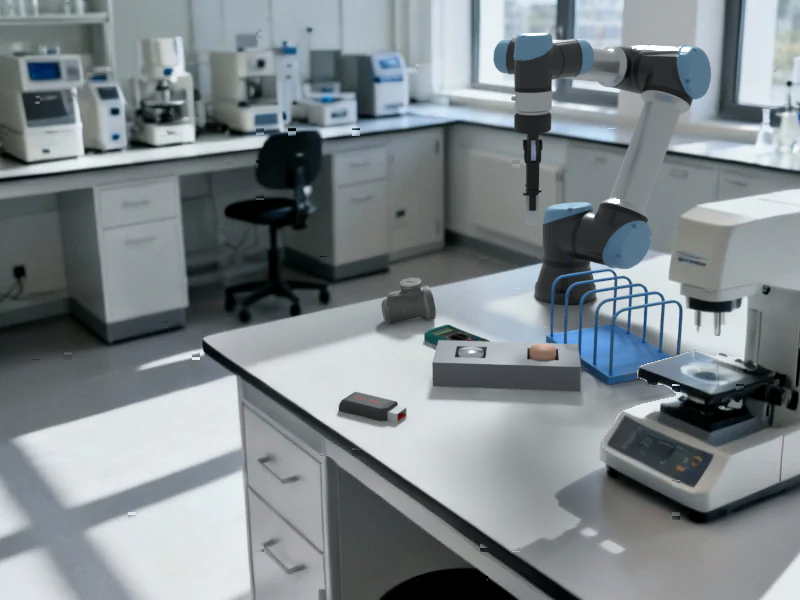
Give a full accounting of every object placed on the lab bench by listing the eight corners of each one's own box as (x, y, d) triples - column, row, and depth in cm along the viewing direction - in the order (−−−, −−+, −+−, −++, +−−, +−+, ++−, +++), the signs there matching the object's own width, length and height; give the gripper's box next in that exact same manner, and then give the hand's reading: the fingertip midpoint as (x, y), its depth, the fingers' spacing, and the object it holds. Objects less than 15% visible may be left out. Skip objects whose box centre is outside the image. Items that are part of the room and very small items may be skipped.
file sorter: (545, 343, 200) (547, 275, 195) (614, 331, 206) (617, 265, 201) (608, 385, 178) (612, 310, 173) (684, 371, 183) (690, 298, 178)
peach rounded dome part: (555, 363, 183) (555, 344, 182) (555, 372, 178) (556, 353, 177) (529, 362, 184) (530, 343, 182) (529, 371, 179) (529, 352, 178)
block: (576, 367, 186) (577, 344, 185) (579, 391, 175) (580, 367, 173) (438, 362, 190) (438, 340, 188) (432, 386, 179) (432, 362, 177)
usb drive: (354, 401, 174) (354, 388, 173) (409, 415, 168) (409, 401, 167) (338, 412, 169) (338, 398, 168) (394, 426, 163) (393, 412, 162)
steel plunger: (484, 365, 185) (484, 347, 184) (482, 375, 180) (483, 356, 179) (459, 364, 186) (459, 346, 184) (457, 374, 181) (457, 355, 180)
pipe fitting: (431, 310, 220) (426, 271, 216) (439, 324, 213) (434, 283, 209) (381, 320, 218) (376, 280, 214) (388, 334, 211) (382, 293, 207)
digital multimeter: (468, 361, 192) (468, 348, 191) (422, 342, 203) (422, 329, 202) (494, 353, 196) (494, 340, 195) (447, 334, 207) (447, 322, 206)
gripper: (513, 108, 195) (513, 217, 203) (514, 117, 183) (514, 232, 190) (549, 107, 194) (548, 216, 202) (553, 116, 182) (551, 232, 190)
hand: (532, 224), depth 196 cm, fingers closed
